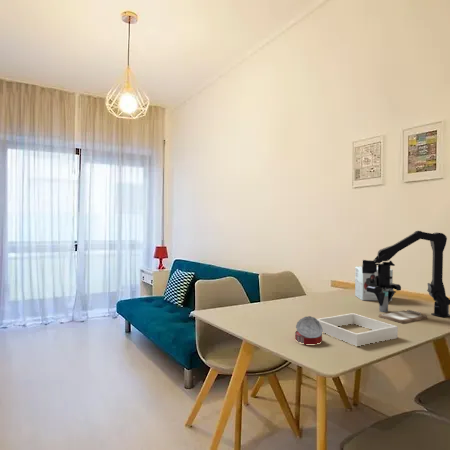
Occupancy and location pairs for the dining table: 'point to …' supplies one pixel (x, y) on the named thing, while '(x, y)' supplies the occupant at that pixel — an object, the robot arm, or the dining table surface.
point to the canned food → (308, 331)
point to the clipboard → (403, 316)
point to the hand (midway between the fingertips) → (383, 305)
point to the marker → (384, 303)
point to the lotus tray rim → (378, 332)
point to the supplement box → (362, 286)
